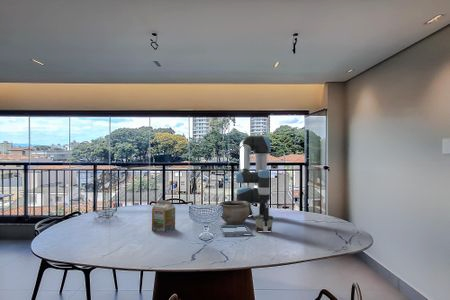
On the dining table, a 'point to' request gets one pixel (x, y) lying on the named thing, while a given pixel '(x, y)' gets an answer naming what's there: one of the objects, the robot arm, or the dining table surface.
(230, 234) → the tray
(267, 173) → the robot arm
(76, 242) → the dining table surface
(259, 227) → the food container
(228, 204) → the ceramic bowl
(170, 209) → the milk carton
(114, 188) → the geometric lantern
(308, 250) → the dining table surface
